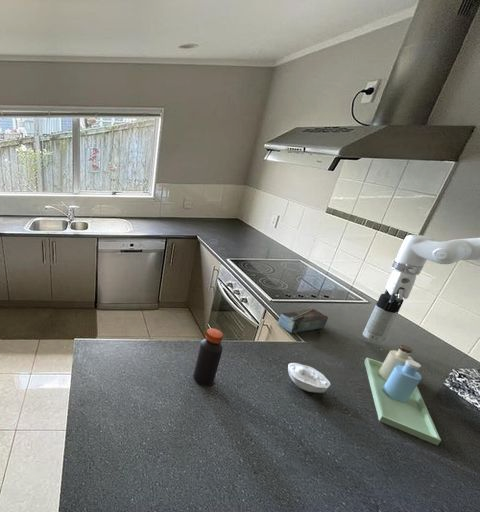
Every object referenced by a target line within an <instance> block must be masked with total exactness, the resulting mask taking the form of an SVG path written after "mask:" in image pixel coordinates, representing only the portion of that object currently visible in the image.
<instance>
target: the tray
mask: <svg viewBox="0 0 480 512" xmlns="http://www.w3.org/2000/svg"><path fill="white" fill-rule="evenodd" d="M363 362H364V366H365V370H366V373H367V378H368V381H369V386H370V390H371V394H372V397H373V402H374V407H375V410H376V414H377V419H378V421H379V422H381V423H383V424H386V425H387V426H390V427H392V428H395V429H397V430H400V431H402V432H403V433H404V432H405V433H407V434H409V435H411V436H414V437H415V438H419V439H421V440H423V441H426V442H428V443H430V444H433V445H436V446H439V444H440V443H441V442H442V438H441V437H440V435H439V433H438V430H437V428H436V426H435V423H434V421H433V418H432V416H431V414H430V412H429V409H428V408H427V405H426V403H425V400H424V398H423V396H422V394H421V392H420V390H419V387H418V385H417V386H416V388H415V389H414V391H413V392H412V394H411V396H410V397H409V399H408V400H407V401H406V402H399V401H396V400H394V399H392V398H390V397H389V396H387V395H386V394H385V393H384V392H383V390H382V388H383V387H384V385H385V383H386V382H387V381H385V380H383V379H382V378H381V377H380V376H379V375H378V371H379V369H380V368H381V366H382V364H383V362H382V361H379V360H376V359H373V358H370V357H365V359H364V361H363Z"/></svg>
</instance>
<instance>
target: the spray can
mask: <svg viewBox="0 0 480 512" xmlns="http://www.w3.org/2000/svg"><path fill="white" fill-rule="evenodd" d="M390 297H391V295H390V294H387V293H385V292H384V293H381V294H380V295H379V297H378V299H377V301H376V303H375V305H374V308H373V310H372V312H371V315H370V317H369V319H368V321H367V324H366V325H365V327H364V330H363V331H362V336H363V337H364V338H366V339H367V340H369V341H371V342H375V343H383V342H384V341H385V340H386V338H387V336H388V334H389V332H390V330H391V327H392V325H393V324H394V322H395V320H396V318H397V315H398V314H399V311H400V309H401V307H402V305H403V303H404V300H405V299H403V300H402V301H401V302H400V305H399V306H398V308H397V310H396V312H395V313H391V312H387V311H384V308H385V306H386V304H387V302H388V301H389V300H390ZM394 298H396V297H393V299H394Z"/></svg>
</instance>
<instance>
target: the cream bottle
mask: <svg viewBox="0 0 480 512" xmlns="http://www.w3.org/2000/svg"><path fill="white" fill-rule="evenodd" d="M413 352H414V349H413V348H412V347H410V346H408V345H405V344H400V345H399V346H398V350H393V349H392V350H391V349H390V350H389V352H388V354H387V355H386V357H385V358H384V361H383V362H382V363H383V364H382V366H381V368H380V369H379V371H378V375H379V376H380V377H381V378H382V379H383V380H385V381H387V380H388V378H389V377H390V375H391V373H392V372H393V370H394V368H395V366H397V365H402V366H405V364H406V363H405V362H406V361H407V360H413V361H415V360H414V358H413V357H411V356H410V355H411V354H412V353H413Z"/></svg>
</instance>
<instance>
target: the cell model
mask: <svg viewBox="0 0 480 512" xmlns="http://www.w3.org/2000/svg"><path fill="white" fill-rule="evenodd" d="M287 373H288V376H289V378H290V379H291V381H292V382H293V383H294V385H295V386H296V387H297V388H298V389H301V390H304V391H306V392H309V393H325V392H326V391H327V389H328V388H329V387H330V386H331V382H330V380H328V378H327V377H326V376H325V375H324V374H323V373H322V372H320V371H318V370H317V369H316V368H314V367H312V366H310V365H305V364H302V363H298V362H290V363H288V365H287Z"/></svg>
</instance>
